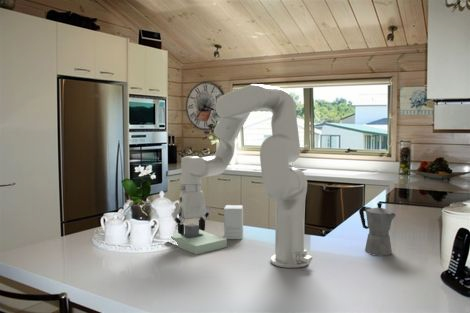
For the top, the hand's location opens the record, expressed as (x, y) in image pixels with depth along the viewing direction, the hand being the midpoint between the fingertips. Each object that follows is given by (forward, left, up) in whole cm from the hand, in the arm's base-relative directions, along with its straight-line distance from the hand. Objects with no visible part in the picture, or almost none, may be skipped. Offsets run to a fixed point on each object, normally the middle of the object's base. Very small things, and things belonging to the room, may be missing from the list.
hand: (191, 231), depth 160 cm
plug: (0, 0, -4) cm, 4 cm away
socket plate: (-3, 0, -4) cm, 5 cm away
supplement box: (-4, -18, -5) cm, 19 cm away
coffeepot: (-52, -45, -4) cm, 69 cm away
